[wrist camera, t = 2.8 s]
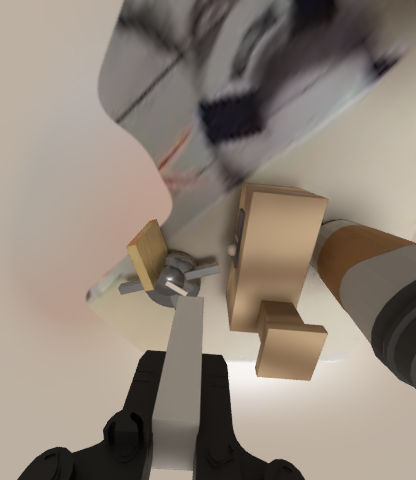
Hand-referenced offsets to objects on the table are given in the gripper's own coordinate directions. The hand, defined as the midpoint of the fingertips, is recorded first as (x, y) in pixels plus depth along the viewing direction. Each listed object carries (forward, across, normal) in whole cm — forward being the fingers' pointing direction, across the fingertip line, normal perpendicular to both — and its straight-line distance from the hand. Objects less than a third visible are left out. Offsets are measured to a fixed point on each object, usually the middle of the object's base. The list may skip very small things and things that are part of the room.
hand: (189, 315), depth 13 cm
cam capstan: (+13, -3, -4) cm, 14 cm away
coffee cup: (+13, +15, +1) cm, 20 cm away
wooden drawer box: (+13, +7, 0) cm, 14 cm away
